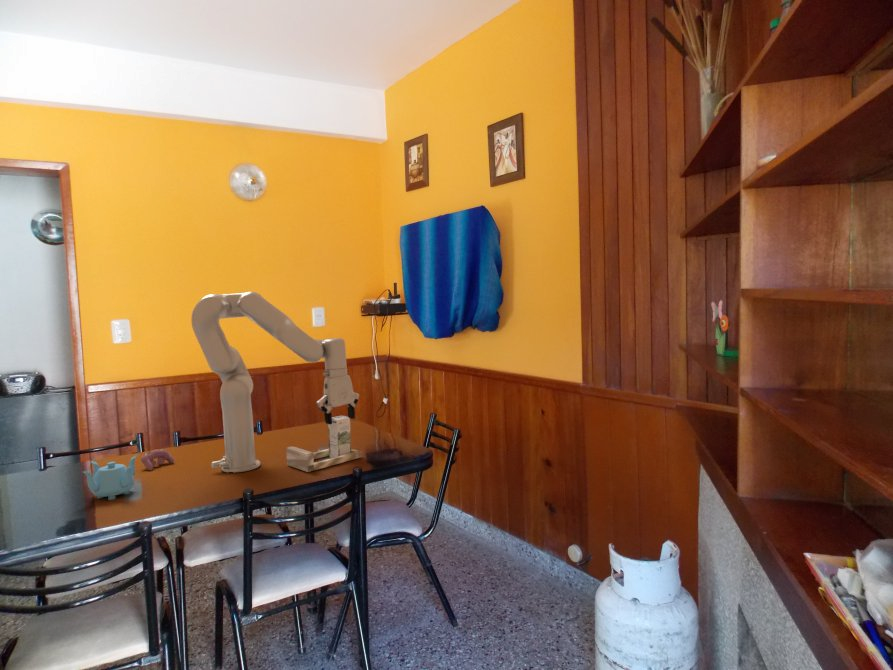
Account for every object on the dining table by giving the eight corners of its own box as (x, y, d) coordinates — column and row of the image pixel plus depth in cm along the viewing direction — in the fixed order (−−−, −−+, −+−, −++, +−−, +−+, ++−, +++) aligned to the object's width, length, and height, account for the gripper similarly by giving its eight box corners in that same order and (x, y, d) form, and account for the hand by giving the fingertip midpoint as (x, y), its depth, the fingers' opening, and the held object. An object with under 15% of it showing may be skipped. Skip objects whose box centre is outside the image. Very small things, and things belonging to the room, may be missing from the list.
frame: (307, 472, 187) (306, 454, 186) (287, 465, 196) (286, 447, 195) (362, 457, 202) (361, 440, 202) (340, 451, 211) (339, 435, 211)
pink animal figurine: (169, 466, 207) (162, 448, 208) (176, 462, 205) (169, 444, 206) (144, 474, 198) (137, 455, 199) (151, 469, 196) (143, 451, 197)
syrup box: (342, 454, 208) (340, 415, 207) (352, 457, 204) (350, 416, 203) (329, 457, 204) (327, 417, 203) (338, 460, 200) (336, 419, 199)
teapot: (94, 492, 176) (91, 460, 175) (142, 485, 181) (139, 454, 180) (84, 505, 164) (81, 471, 163) (136, 498, 169) (133, 464, 168)
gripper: (321, 377, 193) (325, 427, 194) (362, 370, 205) (366, 417, 206) (309, 376, 198) (313, 424, 199) (350, 369, 210) (354, 415, 212)
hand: (340, 420), depth 203 cm, fingers open, 9 cm apart
